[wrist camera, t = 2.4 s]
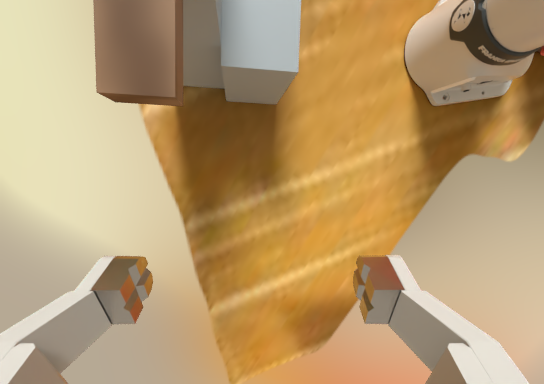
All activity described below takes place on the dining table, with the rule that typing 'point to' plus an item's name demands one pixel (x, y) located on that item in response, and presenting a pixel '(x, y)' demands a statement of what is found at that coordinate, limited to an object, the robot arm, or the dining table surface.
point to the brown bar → (139, 51)
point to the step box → (241, 47)
